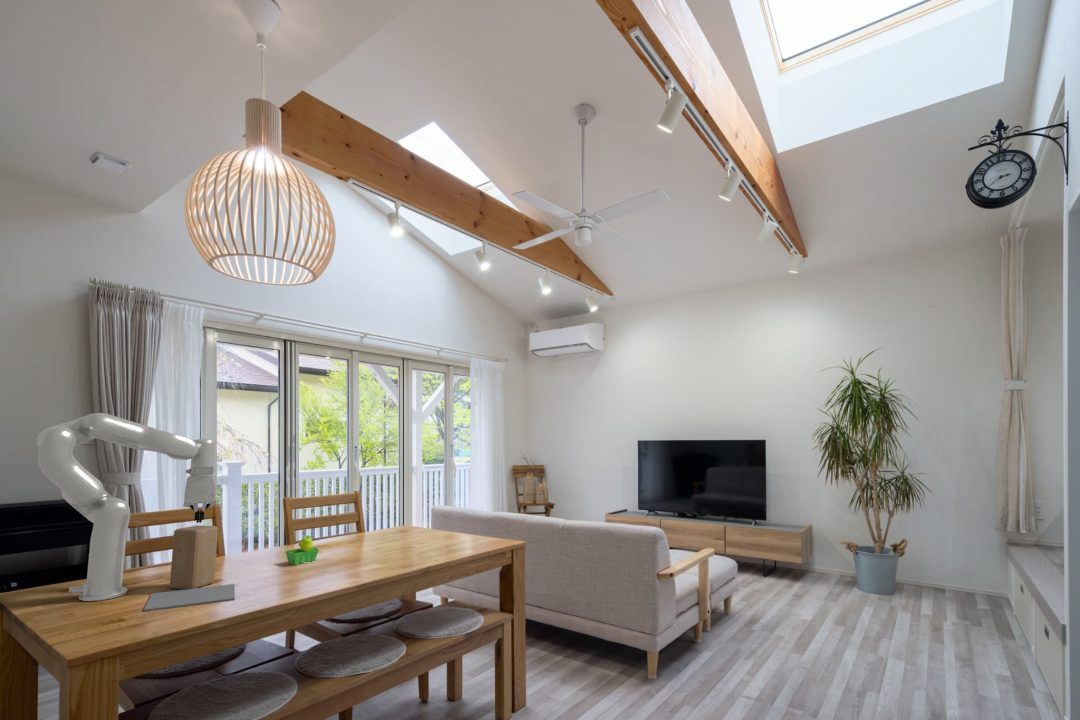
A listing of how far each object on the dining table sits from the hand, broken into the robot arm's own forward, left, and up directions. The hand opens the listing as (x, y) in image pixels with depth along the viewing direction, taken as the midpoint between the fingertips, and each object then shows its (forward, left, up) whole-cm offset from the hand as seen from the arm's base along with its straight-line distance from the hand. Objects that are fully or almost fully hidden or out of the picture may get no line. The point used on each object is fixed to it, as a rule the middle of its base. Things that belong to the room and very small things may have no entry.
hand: (199, 522), depth 209 cm
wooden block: (0, -10, -21) cm, 23 cm away
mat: (+1, -27, -21) cm, 34 cm away
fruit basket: (+38, +10, -21) cm, 44 cm away
